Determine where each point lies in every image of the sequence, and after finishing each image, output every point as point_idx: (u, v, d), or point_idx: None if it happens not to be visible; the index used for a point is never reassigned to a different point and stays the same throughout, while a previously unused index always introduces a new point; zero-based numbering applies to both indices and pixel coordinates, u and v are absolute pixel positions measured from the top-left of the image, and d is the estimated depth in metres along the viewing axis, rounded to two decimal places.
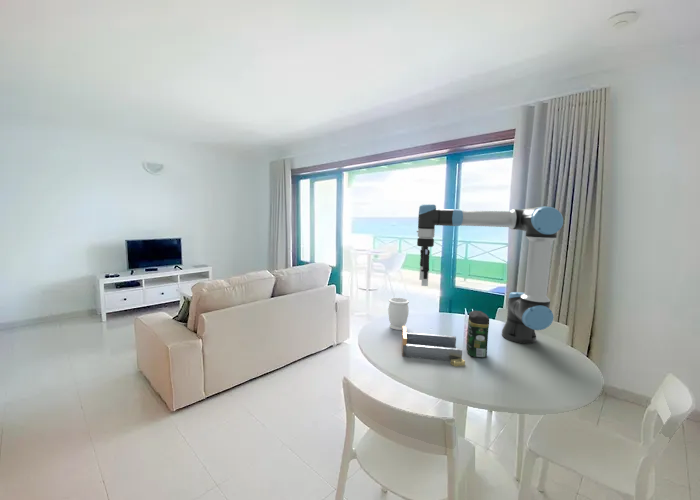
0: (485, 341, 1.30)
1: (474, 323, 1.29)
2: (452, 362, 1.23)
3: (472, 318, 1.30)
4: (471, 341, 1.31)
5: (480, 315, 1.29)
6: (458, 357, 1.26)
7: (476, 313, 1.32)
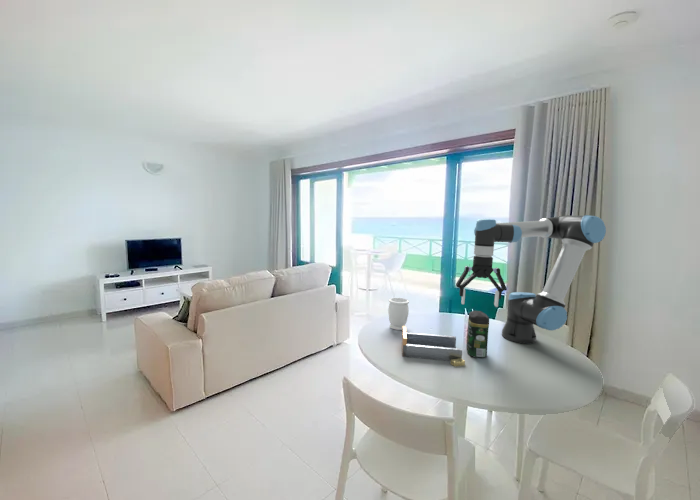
0: (485, 341, 1.30)
1: (474, 323, 1.29)
2: (452, 362, 1.23)
3: (472, 318, 1.30)
4: (471, 341, 1.31)
5: (480, 315, 1.29)
6: (458, 357, 1.26)
7: (476, 313, 1.32)
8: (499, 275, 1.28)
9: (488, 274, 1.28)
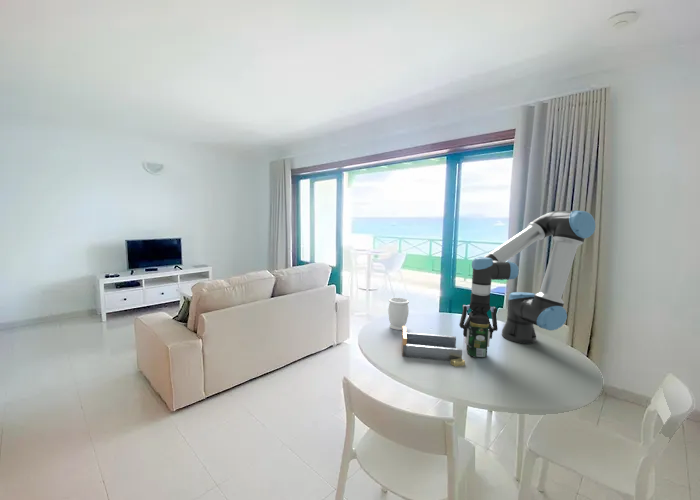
0: (485, 341, 1.30)
1: (474, 323, 1.29)
2: (452, 362, 1.23)
3: (472, 318, 1.30)
4: (472, 341, 1.31)
5: (480, 315, 1.29)
6: (458, 357, 1.26)
7: None
8: (494, 315, 1.30)
9: (484, 312, 1.30)
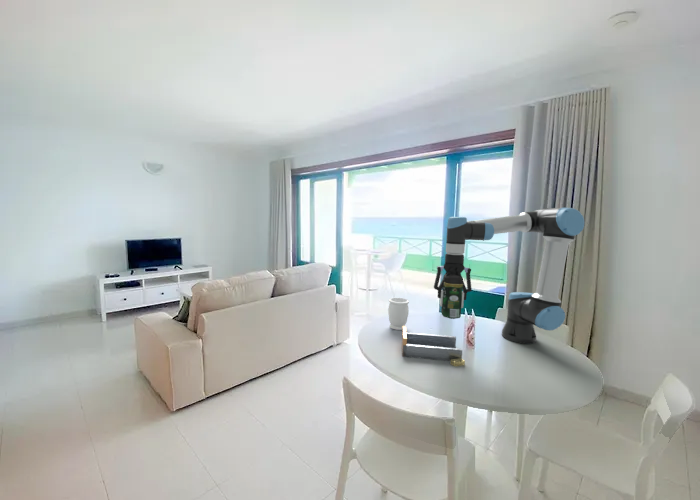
0: (459, 301, 1.27)
1: (447, 283, 1.27)
2: (452, 362, 1.23)
3: (446, 278, 1.28)
4: (445, 301, 1.29)
5: (454, 275, 1.27)
6: (458, 357, 1.26)
7: (450, 274, 1.30)
8: (468, 275, 1.28)
9: (458, 272, 1.28)
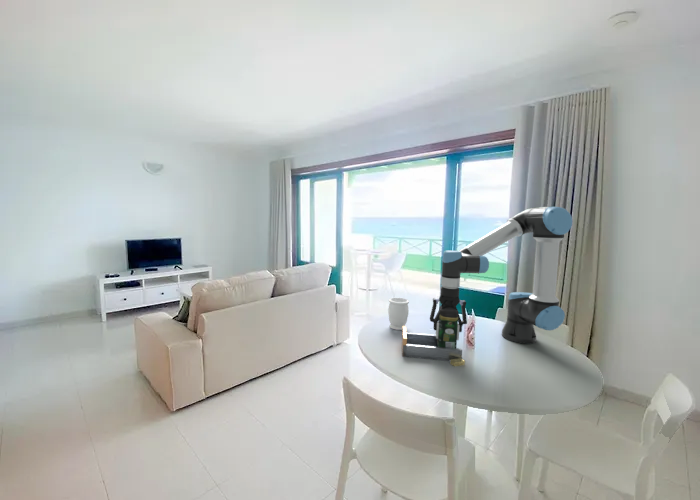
0: (454, 334, 1.29)
1: (443, 316, 1.29)
2: (452, 362, 1.23)
3: (441, 311, 1.30)
4: (441, 334, 1.31)
5: (449, 308, 1.29)
6: (458, 357, 1.26)
7: None
8: (463, 308, 1.30)
9: (454, 305, 1.30)
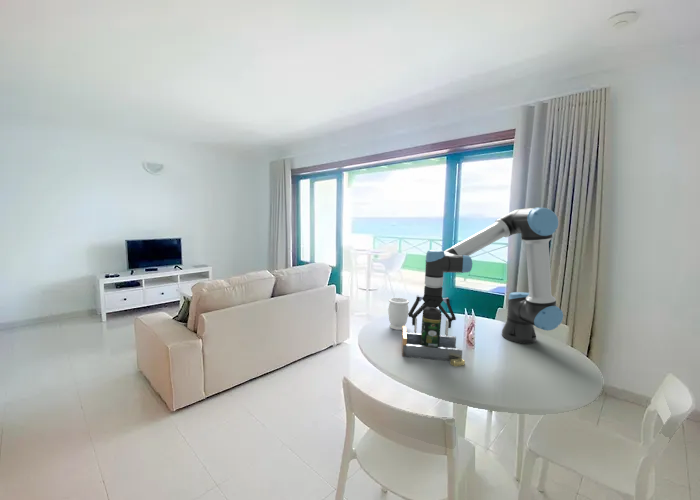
0: (437, 336, 1.31)
1: (426, 318, 1.30)
2: (452, 362, 1.23)
3: (425, 313, 1.31)
4: (424, 336, 1.32)
5: (432, 310, 1.30)
6: (458, 357, 1.26)
7: (429, 309, 1.33)
8: (448, 305, 1.31)
9: (438, 304, 1.31)
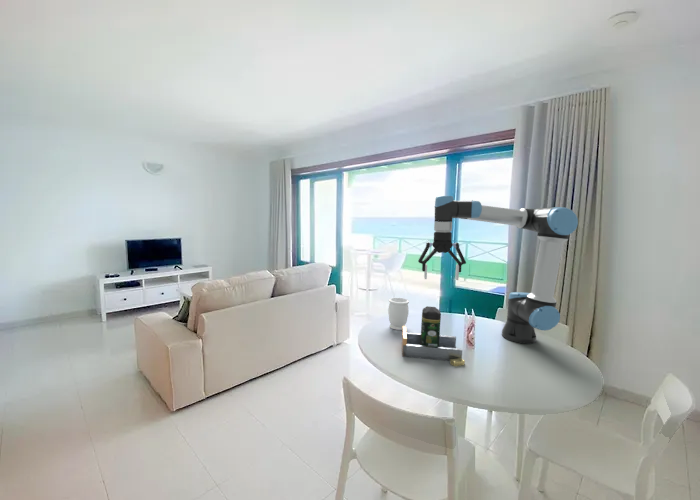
0: (437, 336, 1.31)
1: (425, 318, 1.30)
2: (452, 362, 1.23)
3: (424, 314, 1.31)
4: (424, 336, 1.32)
5: (432, 311, 1.30)
6: (458, 357, 1.26)
7: (428, 309, 1.33)
8: (458, 249, 1.34)
9: (448, 249, 1.34)
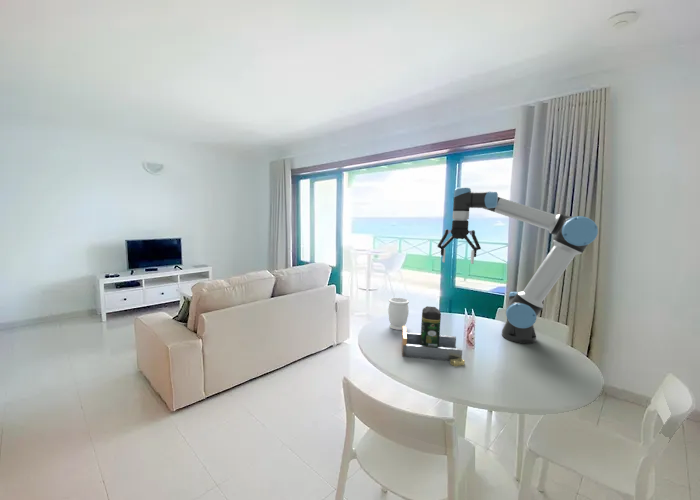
0: (437, 336, 1.31)
1: (425, 318, 1.30)
2: (452, 362, 1.23)
3: (424, 314, 1.31)
4: (424, 336, 1.32)
5: (432, 311, 1.30)
6: (458, 357, 1.26)
7: (428, 309, 1.33)
8: (474, 236, 1.49)
9: (464, 235, 1.49)
